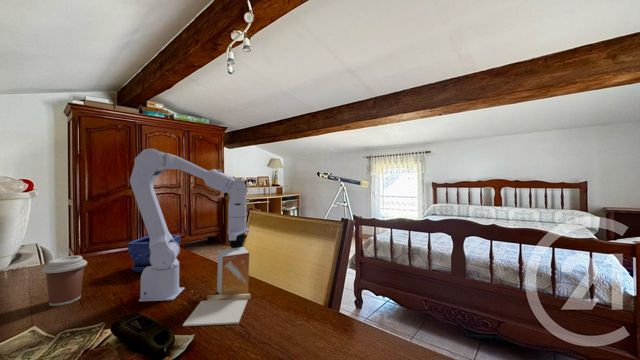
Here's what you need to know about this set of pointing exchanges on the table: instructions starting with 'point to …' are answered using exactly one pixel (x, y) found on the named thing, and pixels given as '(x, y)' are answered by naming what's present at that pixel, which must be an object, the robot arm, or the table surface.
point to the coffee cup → (64, 279)
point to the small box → (233, 271)
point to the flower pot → (143, 252)
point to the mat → (217, 312)
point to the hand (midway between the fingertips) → (237, 257)
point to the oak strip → (228, 297)
